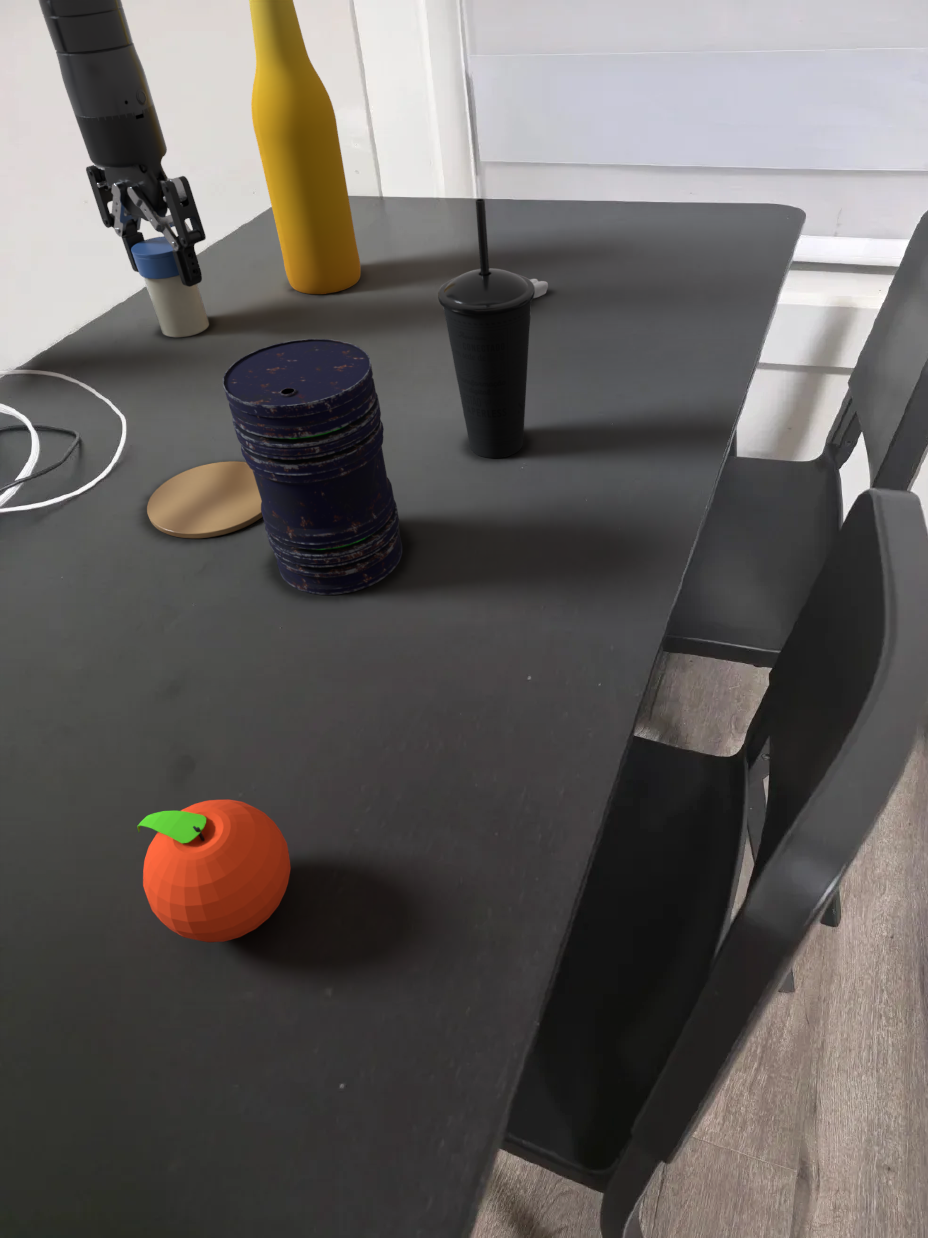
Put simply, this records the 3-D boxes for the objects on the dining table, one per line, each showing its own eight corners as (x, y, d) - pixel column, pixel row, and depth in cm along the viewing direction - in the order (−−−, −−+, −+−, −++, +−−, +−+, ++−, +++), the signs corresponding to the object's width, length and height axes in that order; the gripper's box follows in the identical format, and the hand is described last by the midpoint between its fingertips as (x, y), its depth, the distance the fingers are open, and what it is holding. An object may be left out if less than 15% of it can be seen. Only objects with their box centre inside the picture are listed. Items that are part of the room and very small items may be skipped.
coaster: (126, 536, 69) (124, 531, 68) (179, 464, 76) (177, 459, 76) (255, 540, 67) (253, 535, 67) (295, 467, 75) (294, 462, 75)
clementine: (126, 936, 43) (67, 860, 38) (205, 829, 48) (162, 748, 43) (257, 986, 41) (214, 913, 36) (328, 869, 46) (298, 789, 40)
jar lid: (197, 257, 96) (189, 233, 94) (190, 275, 92) (182, 251, 90) (144, 262, 95) (136, 238, 94) (135, 281, 91) (126, 257, 90)
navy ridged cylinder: (292, 519, 69) (242, 340, 59) (410, 516, 69) (382, 335, 58) (263, 597, 62) (201, 409, 52) (395, 595, 62) (359, 405, 51)
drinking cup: (473, 475, 73) (449, 224, 58) (442, 435, 78) (414, 195, 63) (553, 453, 74) (549, 204, 60) (518, 416, 80) (507, 178, 65)
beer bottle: (375, 282, 105) (328, -16, 85) (307, 301, 102) (242, -4, 81) (342, 262, 111) (291, -22, 90) (277, 280, 108) (209, -12, 87)
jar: (158, 339, 96) (130, 259, 90) (165, 320, 100) (139, 242, 94) (206, 334, 97) (182, 254, 90) (211, 316, 100) (188, 237, 94)
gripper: (36, 105, 83) (100, 277, 95) (126, 119, 77) (183, 300, 88) (101, 89, 87) (154, 255, 99) (191, 101, 81) (237, 277, 93)
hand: (168, 276), depth 94 cm, fingers open, 8 cm apart
